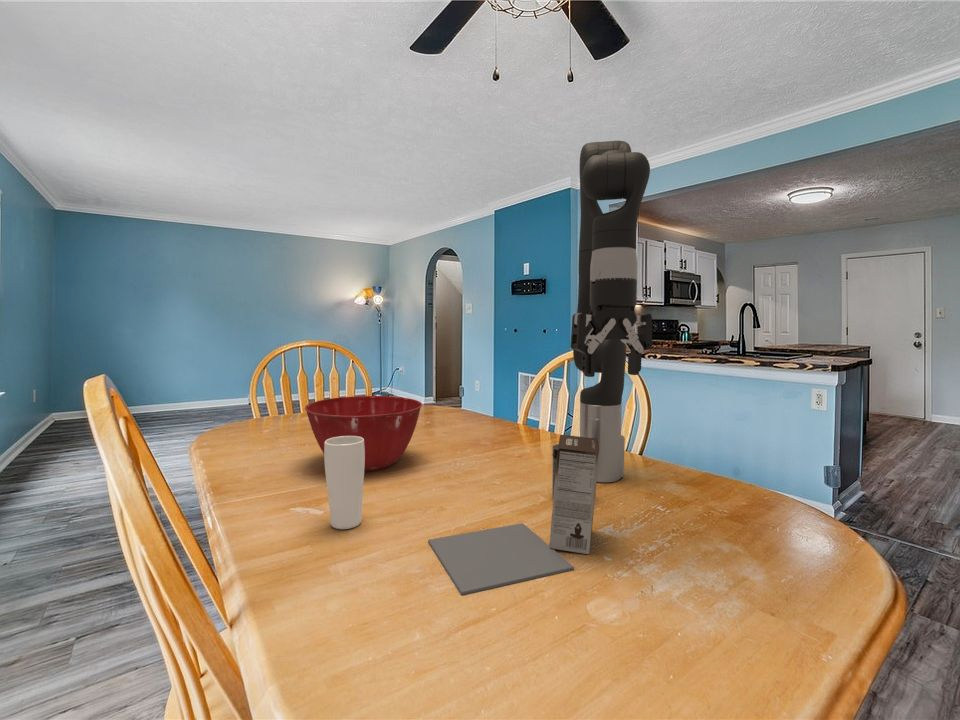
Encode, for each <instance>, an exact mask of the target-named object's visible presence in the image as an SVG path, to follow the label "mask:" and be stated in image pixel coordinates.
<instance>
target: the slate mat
mask: <svg viewBox="0 0 960 720" xmlns="http://www.w3.org/2000/svg"><path fill="white" fill-rule="evenodd" d="M427 541H428V544H429V546H430V547H431V549H432V551H433V552H434V554H435V555H436V557H437V558H438V560H439V562H440V563H441V565H442V567H443V568H444V570H445V572H446V573H447V574H448V577H449V578H450V579H451V580H452V582H453V584H454V586H455V587H456V590H458V592H459V594H460V595H461V596H466V595H468V594H473V593H477V592H478V593H479V592H482V591H487V590H491V589H494V588H500V587H504V586H508V585H513V584H517V583H521V582H526V581H530V580H535V579H538V578H545V577H547V576H552V575H556V574H560V573H565V572H570V571H574V570H575V566H574V565H573V564H571V563H570V562H569V561H568V560H567V559H566V558H564V557H563V556H562V555H561V554H560V553H559V552H557V551H556V549H552V548H550V544H548V543H547V542H546V541H544V540H543V538H541V537H539V535H537V533H535V532H534V531H532V530H531V528H529V527H528V526H527V525H526V524H525V523H523V522H521V523H516V524H510V525H504V526H498V527H494V528H487V529H482V530H476V531H475V530H474V531H470V532H465V533H458V534H453V535H452V534H451V535H447V536H441V537H436V538H431V539H428V540H427Z"/></svg>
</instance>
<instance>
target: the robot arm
mask: <svg viewBox="0 0 960 720" xmlns="http://www.w3.org/2000/svg"><path fill="white" fill-rule="evenodd" d="M579 154H580V155H579V192H580V193H579V195H580V198H579V199H580V200H579V202H580V220H579V221H580V223H579V224H580V225H579V240H578V241H579V243H578V244H579V245H578V265H577V267H578V268H577V269H578V271H577V272H578V288H577V291H578V292H577V293H578V294H577V308H576V309H577V310H576V313H574V314H572V319H571V335H570V349H571V350H572V353H573V355H572V356H573V362H574V366H575V367H576V369H577V370H579V371H580V372H582V373H583V375H584V376H585V377H588V378H594V377H595V375H596V373H597V374H598V373H599V374H601V376H600V381H599V382H598V383H596V384H595V385H593V386H592V385H591V386H588V387H585V388H582V389H581V390H580V394H579V437H588V438H597V439H598V444H599V462H598V473H597V483H614V482H616V481H619V480H620V479H622V478H621V477H623V478H624V477H625V436H624V435H622V408H623V407H622V405H623V404H622V403H623V401H622V400H623V393H624V388H625V374H626V364H627V373H628V375H630V376H638V375H639V374H640V372H641V370H642V354H643V352H645V351H646V350H650V349H652V348H653V345H654V343H653V317H652V314H651V313H639V314H636V311H635V308H636V306H637V300H638V298H637V297H638V256H637V233H638V232H637V231H638V219H639V214H640V209H641V205H642V200H643V198H644V195H645V191H646V188H647V185H648V183H649V179H650V175H651V174H650V173H651V166H650V162H649V160H648V158H647V157H646V155H645V154H643V153H642V152H639V151H638V152H637V151H634V152H633V151H632V148H631V146H630V144H629V143H628V142H626V141H623V140H609V141H605V140H604V141H593V142H587V143H585V144H583V146H582V148H581V150H580V153H579ZM608 200H609V201H610V200H612V201H613V200H625V203H624V204H623V205H622V206H621V207H620V208H618V209H615V210H611V211H608V212H604V213H603V211H602V208H601V207H600V204H599V202H598V201H608ZM634 326H636V331H637V332H636V331H635V329H634V328H633V327H634ZM627 349H628V351H629V352H628V353H627ZM626 360H627V363H626Z"/></svg>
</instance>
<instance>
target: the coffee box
mask: <svg viewBox="0 0 960 720" xmlns="http://www.w3.org/2000/svg"><path fill="white" fill-rule="evenodd" d="M558 444H559V445H558V452H557V462H556V474H555V485H554V497H553V496H552V497H553V500H552V513H551V523H550V536H549V537H550V538H549V546H550V548H552V549H554V550H560V551H566V552H571V553H579V554H585V555H590V554H591V545H592V544H591V542H592V535H593V534H592V532H593V524H594V512H595V504H596V492H597V483H598V482H597V473H598V462H599V444H598V439H597V438H588V437H580V435H579V436H577V435H567V434H560V435H559V439H558Z"/></svg>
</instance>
